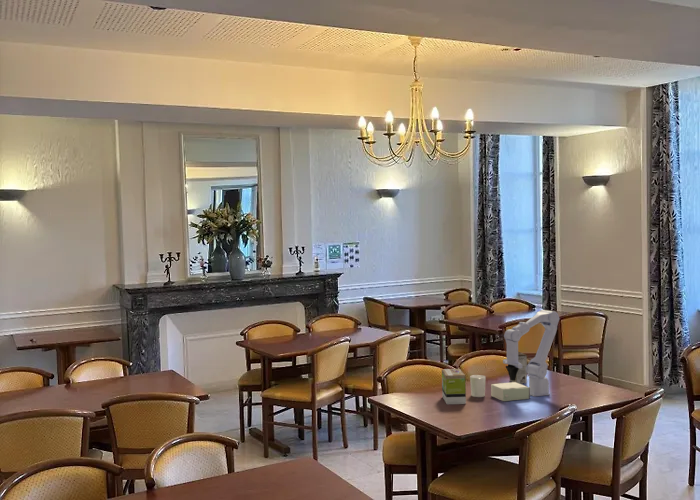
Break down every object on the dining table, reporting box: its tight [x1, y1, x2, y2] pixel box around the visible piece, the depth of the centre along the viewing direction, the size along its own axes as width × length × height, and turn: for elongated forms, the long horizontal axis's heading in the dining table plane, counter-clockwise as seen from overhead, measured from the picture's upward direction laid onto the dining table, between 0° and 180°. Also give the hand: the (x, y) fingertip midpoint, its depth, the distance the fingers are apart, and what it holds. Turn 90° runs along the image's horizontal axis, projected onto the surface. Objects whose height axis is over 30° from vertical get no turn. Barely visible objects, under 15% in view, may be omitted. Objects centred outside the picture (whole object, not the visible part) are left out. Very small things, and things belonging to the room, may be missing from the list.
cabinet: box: [490, 381, 528, 402], centre depth 347 cm, size 14×12×6 cm
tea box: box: [441, 368, 467, 405], centre depth 343 cm, size 15×10×15 cm, turn 1°
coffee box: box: [509, 351, 528, 385], centre depth 381 cm, size 9×6×16 cm
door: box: [502, 386, 531, 402], centre depth 341 cm, size 15×2×6 cm, turn 108°
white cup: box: [469, 374, 487, 398], centre depth 352 cm, size 8×8×10 cm
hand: (512, 380), depth 345 cm, fingers closed
